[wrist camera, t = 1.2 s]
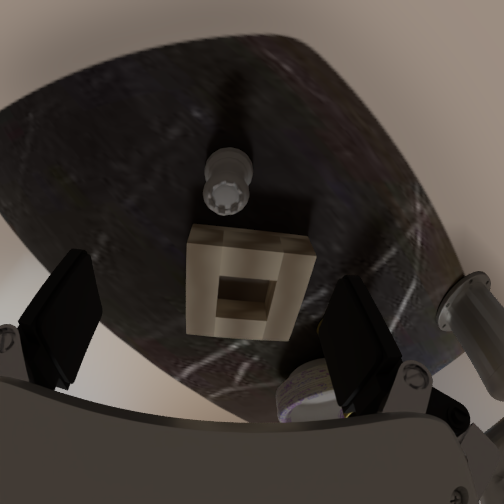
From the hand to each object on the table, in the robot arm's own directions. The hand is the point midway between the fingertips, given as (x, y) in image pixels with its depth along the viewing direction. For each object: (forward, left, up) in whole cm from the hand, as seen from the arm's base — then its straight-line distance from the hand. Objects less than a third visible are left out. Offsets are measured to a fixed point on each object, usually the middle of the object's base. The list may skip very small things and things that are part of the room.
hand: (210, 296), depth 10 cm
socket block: (-3, +12, -18) cm, 22 cm away
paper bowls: (-18, +31, -18) cm, 40 cm away
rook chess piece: (0, 0, -18) cm, 18 cm away
